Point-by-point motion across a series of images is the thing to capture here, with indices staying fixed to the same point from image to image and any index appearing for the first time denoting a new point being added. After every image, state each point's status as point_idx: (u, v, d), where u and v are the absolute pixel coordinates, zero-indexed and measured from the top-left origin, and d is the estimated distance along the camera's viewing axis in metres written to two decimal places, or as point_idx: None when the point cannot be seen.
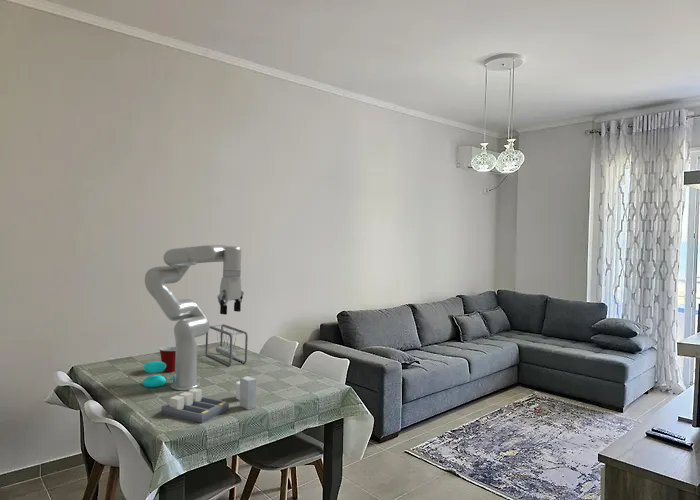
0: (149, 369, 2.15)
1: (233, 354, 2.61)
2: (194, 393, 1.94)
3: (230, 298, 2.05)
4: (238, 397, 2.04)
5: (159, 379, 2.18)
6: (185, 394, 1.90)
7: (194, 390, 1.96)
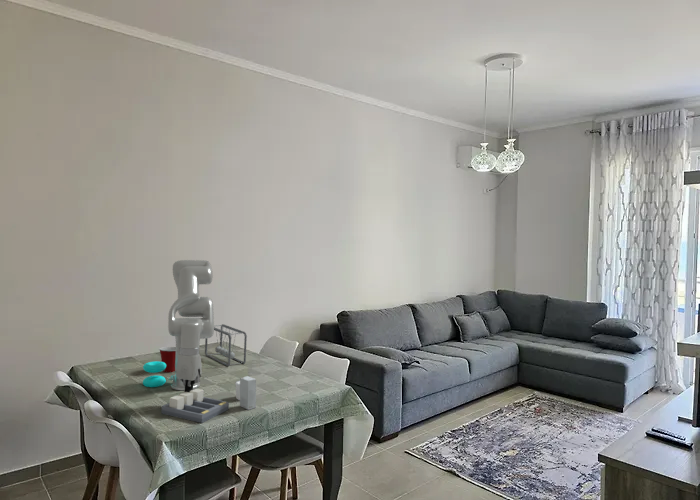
0: (149, 369, 2.15)
1: (232, 354, 2.61)
2: (196, 393, 1.93)
3: None
4: (238, 397, 2.04)
5: (159, 379, 2.18)
6: (185, 394, 1.90)
7: (196, 390, 1.95)
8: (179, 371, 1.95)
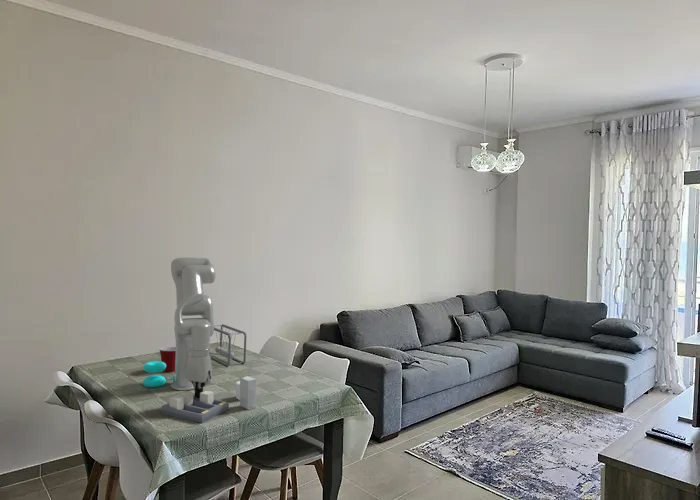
0: (149, 369, 2.15)
1: (232, 354, 2.61)
2: (206, 395, 1.91)
3: None
4: (238, 397, 2.04)
5: (159, 379, 2.18)
6: (185, 394, 1.90)
7: (206, 392, 1.93)
8: (189, 373, 1.93)
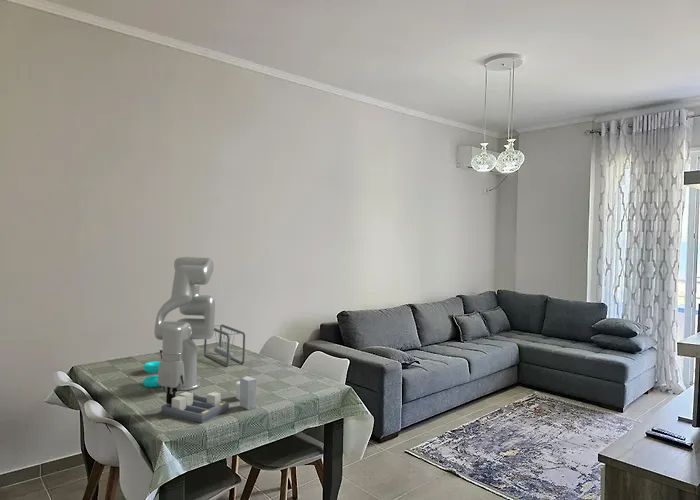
0: (149, 369, 2.15)
1: (231, 354, 2.61)
2: (213, 397, 1.90)
3: None
4: (238, 397, 2.04)
5: None
6: (185, 394, 1.90)
7: (213, 394, 1.92)
8: (161, 378, 1.86)
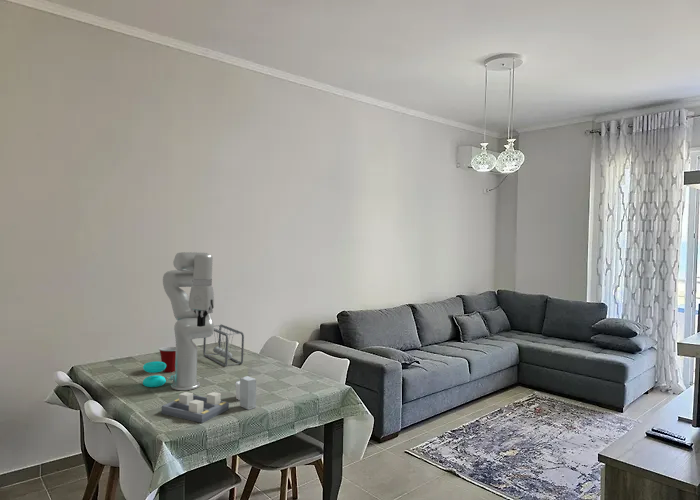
0: (149, 369, 2.15)
1: (229, 354, 2.60)
2: (213, 397, 1.90)
3: None
4: (238, 397, 2.04)
5: (159, 379, 2.18)
6: (185, 394, 1.90)
7: (213, 394, 1.92)
8: (192, 302, 1.99)
